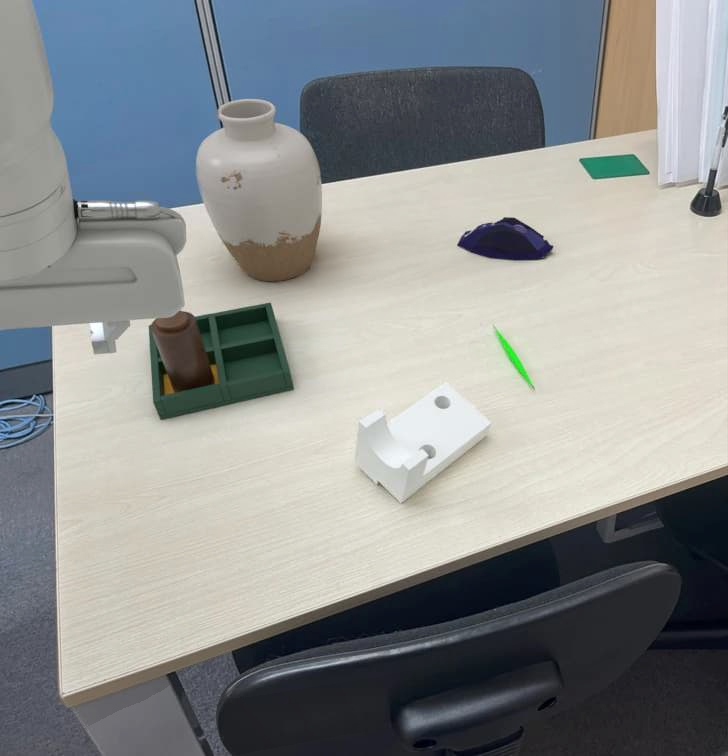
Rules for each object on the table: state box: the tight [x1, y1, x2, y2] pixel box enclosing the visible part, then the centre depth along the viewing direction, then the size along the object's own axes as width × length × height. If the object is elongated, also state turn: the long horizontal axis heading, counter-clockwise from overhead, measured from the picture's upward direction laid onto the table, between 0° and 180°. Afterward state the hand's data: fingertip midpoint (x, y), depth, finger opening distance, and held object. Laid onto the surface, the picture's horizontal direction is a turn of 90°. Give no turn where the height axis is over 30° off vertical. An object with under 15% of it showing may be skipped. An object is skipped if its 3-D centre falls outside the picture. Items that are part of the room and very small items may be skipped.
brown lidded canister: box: [150, 310, 215, 393], centre depth 80 cm, size 5×5×10 cm
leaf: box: [492, 324, 535, 389], centre depth 89 cm, size 1×14×1 cm, turn 22°
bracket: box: [353, 381, 492, 504], centre depth 74 cm, size 13×7×8 cm, turn 139°
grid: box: [148, 302, 295, 421], centre depth 86 cm, size 15×15×3 cm
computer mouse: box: [456, 216, 554, 261], centre depth 109 cm, size 9×15×4 cm, turn 74°
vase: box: [195, 98, 323, 282], centre depth 97 cm, size 16×16×23 cm
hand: (28, 353), depth 50 cm, fingers open, 8 cm apart
